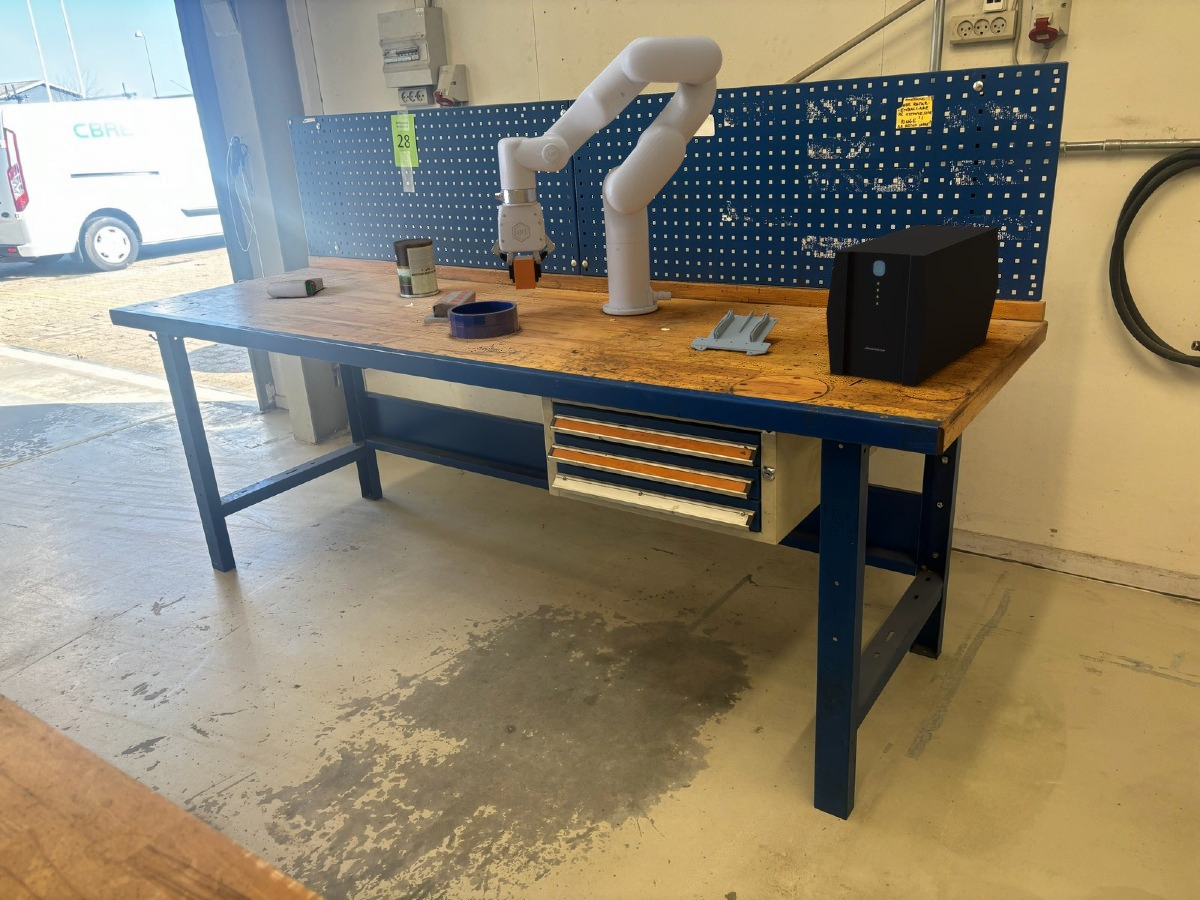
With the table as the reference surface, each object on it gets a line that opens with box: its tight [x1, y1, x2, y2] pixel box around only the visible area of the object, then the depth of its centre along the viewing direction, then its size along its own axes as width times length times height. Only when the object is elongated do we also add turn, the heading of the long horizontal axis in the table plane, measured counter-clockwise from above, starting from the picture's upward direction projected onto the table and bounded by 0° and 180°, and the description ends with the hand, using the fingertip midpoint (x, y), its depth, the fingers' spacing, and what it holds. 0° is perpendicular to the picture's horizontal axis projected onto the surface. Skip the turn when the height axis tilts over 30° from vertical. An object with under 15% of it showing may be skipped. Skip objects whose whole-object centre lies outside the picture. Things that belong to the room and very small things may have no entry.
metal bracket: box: [690, 309, 780, 356], centre depth 161 cm, size 14×6×15 cm
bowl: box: [448, 300, 520, 340], centre depth 181 cm, size 15×15×6 cm
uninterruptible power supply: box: [825, 224, 1000, 387], centre depth 144 cm, size 16×34×20 cm, turn 139°
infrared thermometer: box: [266, 277, 324, 298], centre depth 241 cm, size 5×12×15 cm
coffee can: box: [392, 237, 439, 299], centre depth 227 cm, size 10×10×14 cm
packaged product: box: [423, 289, 477, 324], centre depth 199 cm, size 18×5×10 cm
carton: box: [513, 254, 538, 291], centre depth 191 cm, size 4×5×7 cm
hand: (525, 280), depth 191 cm, fingers closed on carton, 4 cm apart
